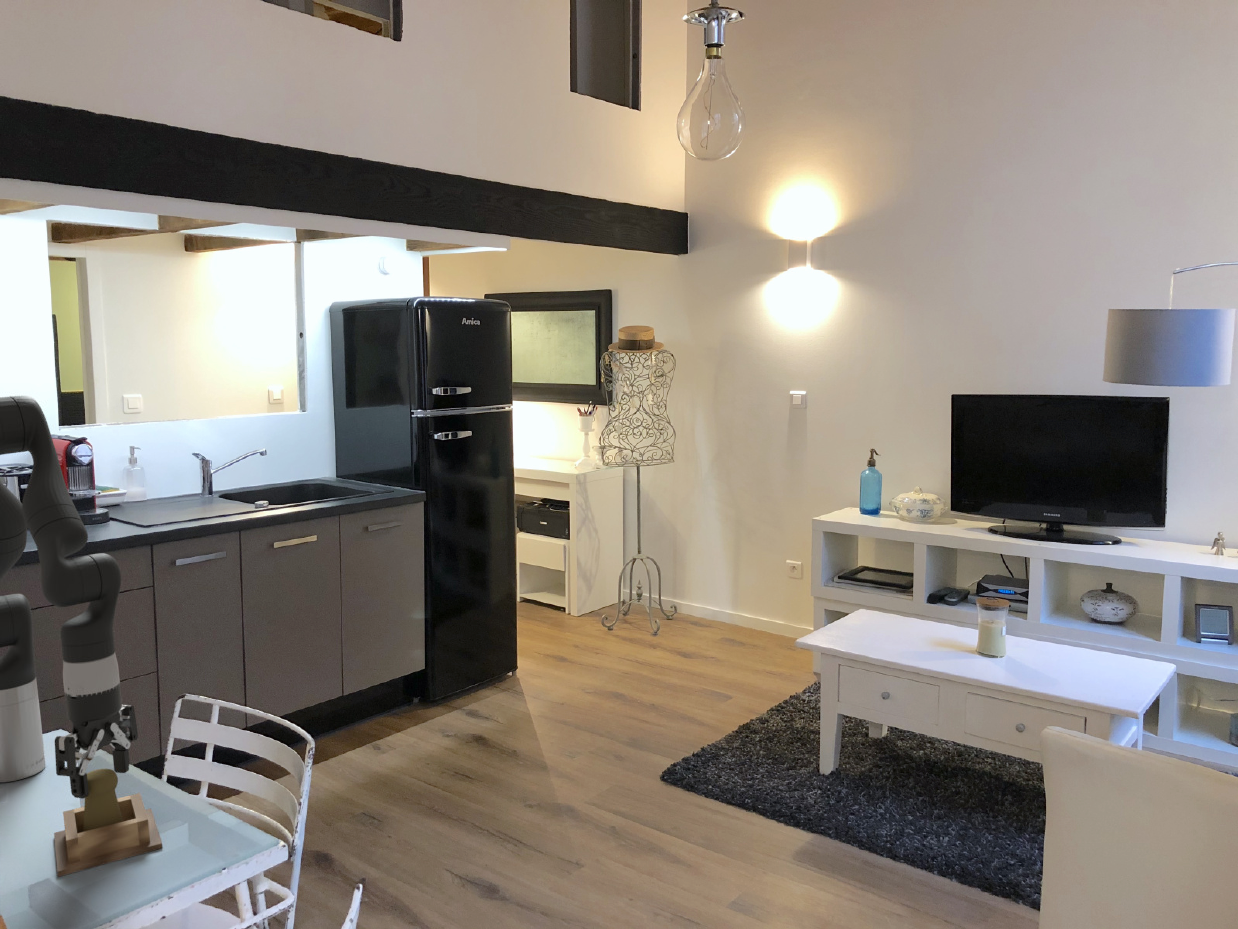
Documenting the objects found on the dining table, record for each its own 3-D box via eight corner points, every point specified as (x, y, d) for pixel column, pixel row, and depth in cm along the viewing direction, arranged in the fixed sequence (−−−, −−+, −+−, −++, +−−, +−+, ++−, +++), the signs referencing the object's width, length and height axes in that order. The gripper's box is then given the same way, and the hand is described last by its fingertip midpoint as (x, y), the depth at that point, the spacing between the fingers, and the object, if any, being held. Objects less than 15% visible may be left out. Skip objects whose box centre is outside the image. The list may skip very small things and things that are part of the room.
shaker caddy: (58, 877, 140) (54, 848, 140) (54, 837, 152) (51, 810, 152) (162, 848, 148) (159, 820, 147) (151, 812, 160) (149, 787, 159)
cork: (82, 853, 145) (75, 784, 144) (82, 836, 151) (75, 769, 149) (126, 842, 148) (120, 775, 147) (125, 826, 153) (119, 760, 152)
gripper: (105, 667, 155) (114, 763, 157) (34, 699, 141) (45, 804, 143) (145, 669, 153) (154, 766, 155) (77, 702, 139) (87, 808, 141)
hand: (102, 784), depth 149 cm, fingers open, 8 cm apart
